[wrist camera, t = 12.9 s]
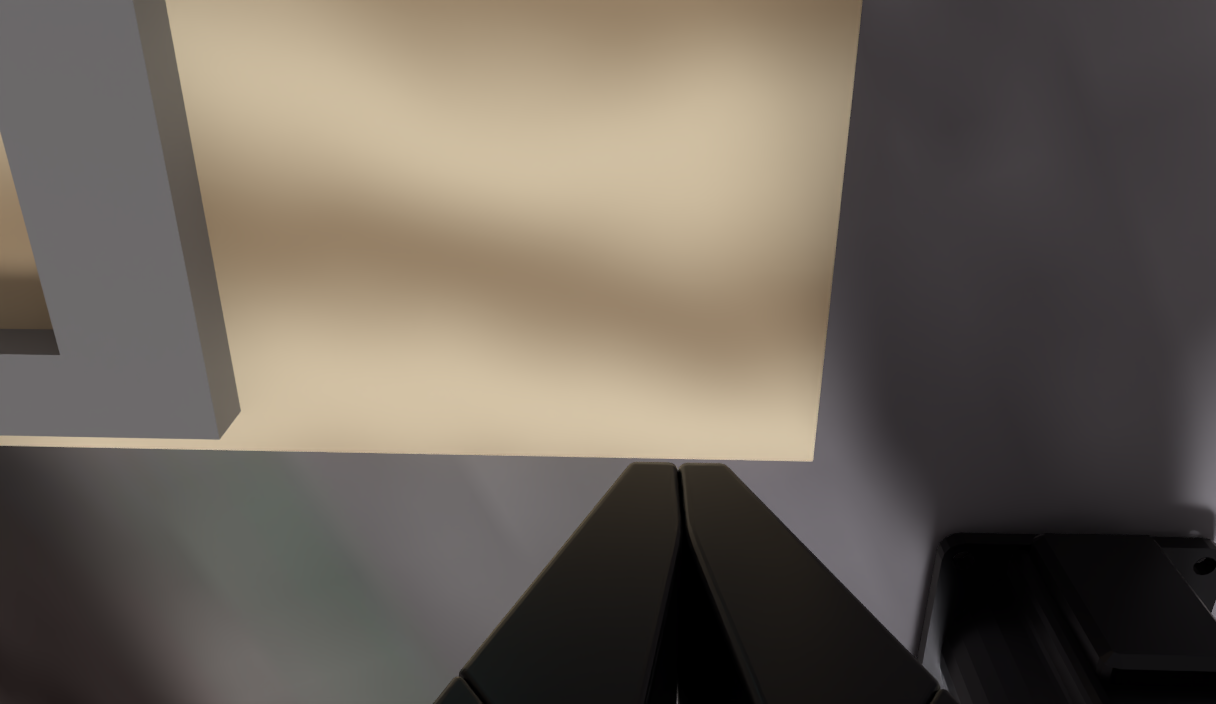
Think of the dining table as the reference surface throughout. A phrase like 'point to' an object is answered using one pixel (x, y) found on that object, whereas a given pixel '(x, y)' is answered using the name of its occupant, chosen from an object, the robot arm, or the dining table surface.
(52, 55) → the gray square frame
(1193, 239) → the dining table surface
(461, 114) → the patch board
